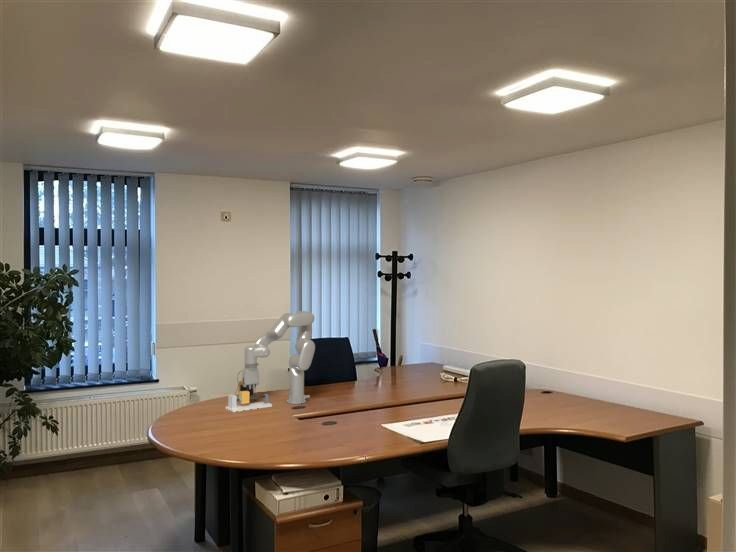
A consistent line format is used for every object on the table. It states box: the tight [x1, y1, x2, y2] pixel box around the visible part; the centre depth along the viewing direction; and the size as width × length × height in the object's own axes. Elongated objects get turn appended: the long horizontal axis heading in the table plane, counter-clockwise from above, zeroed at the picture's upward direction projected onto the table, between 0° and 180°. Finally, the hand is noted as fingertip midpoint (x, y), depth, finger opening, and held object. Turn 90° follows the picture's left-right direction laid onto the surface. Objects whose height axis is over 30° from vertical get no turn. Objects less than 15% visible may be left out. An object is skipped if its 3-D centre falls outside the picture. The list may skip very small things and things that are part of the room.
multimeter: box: [234, 370, 257, 402], centre depth 386 cm, size 15×10×20 cm
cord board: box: [225, 393, 273, 413], centre depth 364 cm, size 27×10×9 cm, turn 130°
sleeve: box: [238, 391, 251, 405], centre depth 362 cm, size 5×4×7 cm
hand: (250, 395), depth 365 cm, fingers closed
